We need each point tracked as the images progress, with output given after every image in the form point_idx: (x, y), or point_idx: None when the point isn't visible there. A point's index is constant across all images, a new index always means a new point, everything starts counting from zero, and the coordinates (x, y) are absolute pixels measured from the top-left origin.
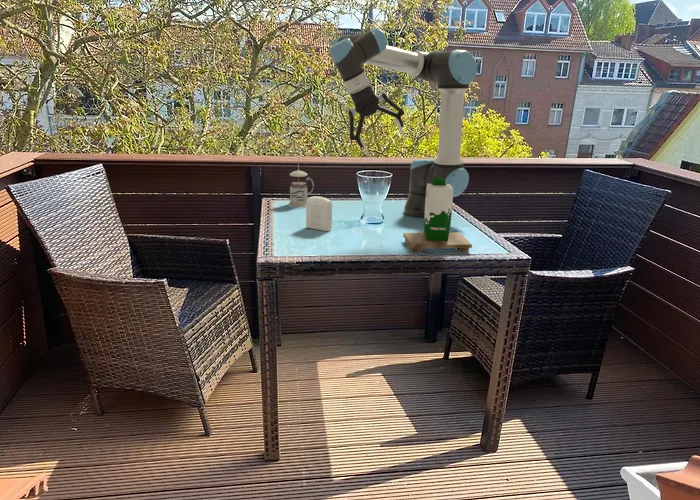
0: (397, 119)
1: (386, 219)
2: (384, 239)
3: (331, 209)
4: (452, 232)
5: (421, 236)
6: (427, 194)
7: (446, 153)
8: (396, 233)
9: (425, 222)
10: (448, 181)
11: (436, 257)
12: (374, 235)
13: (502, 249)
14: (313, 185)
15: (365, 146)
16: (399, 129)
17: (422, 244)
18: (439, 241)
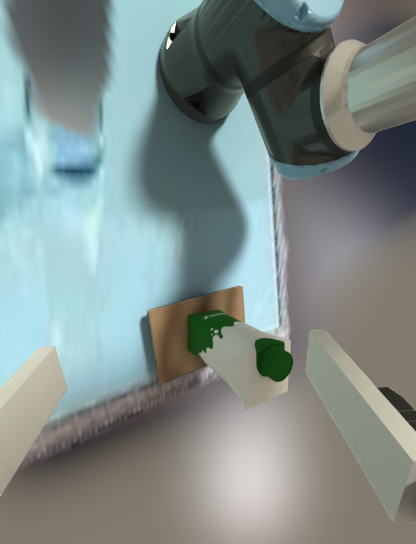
0: (413, 517)
1: (109, 129)
2: (105, 306)
3: None
4: (233, 290)
5: (181, 328)
6: (232, 380)
7: (376, 119)
8: (132, 257)
9: (198, 355)
10: (300, 176)
11: (190, 378)
12: (80, 280)
13: (276, 314)
14: None
15: (24, 454)
16: (334, 382)
17: (177, 374)
18: None
